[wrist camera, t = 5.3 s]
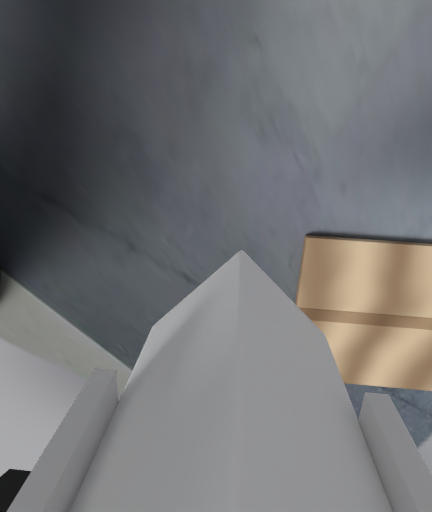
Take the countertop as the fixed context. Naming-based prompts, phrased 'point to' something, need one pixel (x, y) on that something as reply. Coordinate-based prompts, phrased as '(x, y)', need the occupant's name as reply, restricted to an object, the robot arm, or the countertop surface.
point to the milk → (234, 413)
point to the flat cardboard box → (371, 307)
